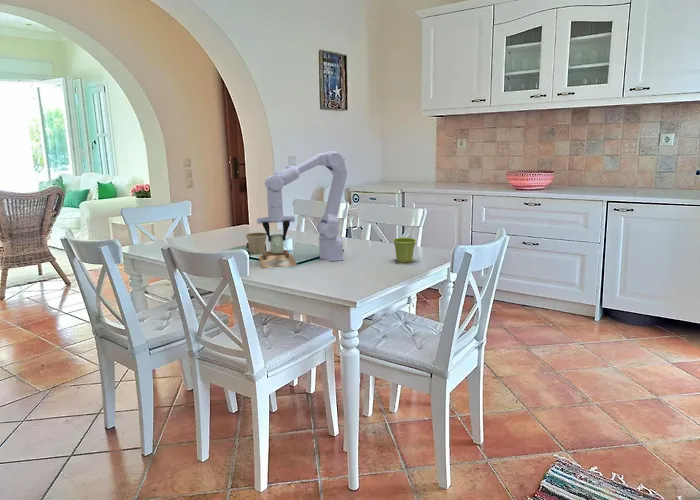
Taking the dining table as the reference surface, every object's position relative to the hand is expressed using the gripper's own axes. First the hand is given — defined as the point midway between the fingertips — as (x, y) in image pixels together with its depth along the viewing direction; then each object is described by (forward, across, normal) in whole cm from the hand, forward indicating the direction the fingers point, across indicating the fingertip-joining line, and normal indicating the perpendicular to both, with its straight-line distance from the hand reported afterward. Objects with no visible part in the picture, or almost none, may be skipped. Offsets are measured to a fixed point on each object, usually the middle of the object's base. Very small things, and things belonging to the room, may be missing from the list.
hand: (276, 240), depth 204 cm
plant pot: (+10, -50, +8) cm, 52 cm away
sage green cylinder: (+5, 0, 0) cm, 5 cm away
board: (+10, 0, -4) cm, 11 cm away
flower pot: (+10, +7, -22) cm, 26 cm away
